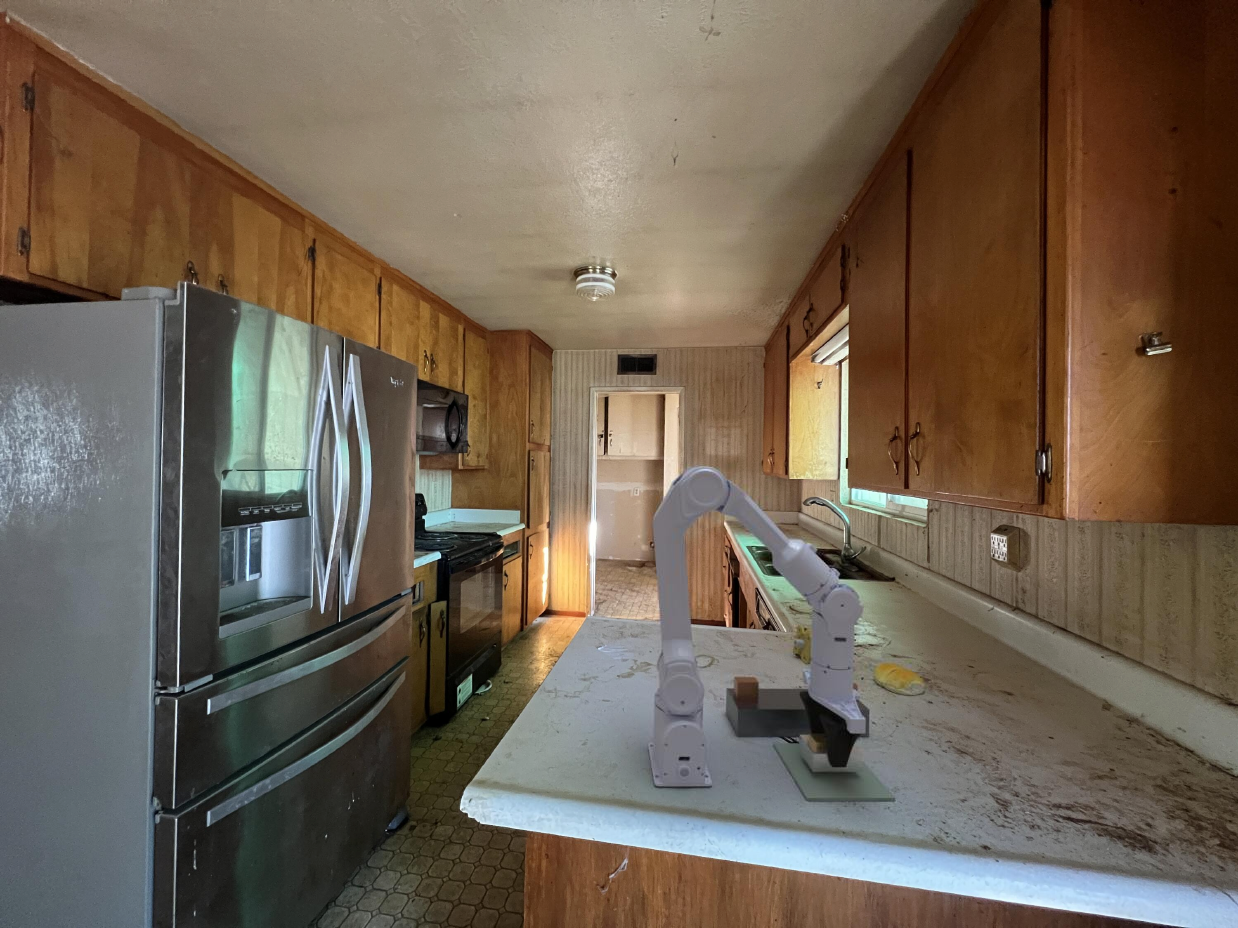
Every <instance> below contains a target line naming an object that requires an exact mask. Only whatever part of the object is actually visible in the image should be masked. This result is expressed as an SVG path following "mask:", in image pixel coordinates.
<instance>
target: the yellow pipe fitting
mask: <svg viewBox="0 0 1238 928" xmlns="http://www.w3.org/2000/svg"><path fill="white" fill-rule="evenodd" d="M792 648H793V649H792V651H793V654H794V655H800V658H801V661H802V662H803V664H805V665H808V664H809V663H810V660H811V627H809V628H806V629H805V628H804V626H803V625H801V624H797V629H796V632H795V638H794V640H793V647H792Z"/></svg>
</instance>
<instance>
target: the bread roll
mask: <svg viewBox="0 0 1238 928" xmlns="http://www.w3.org/2000/svg"><path fill="white" fill-rule="evenodd" d="M873 680H874V682H875V683H876V684H877V685H879V686H881V687H883V688H885V690H887V691H889V692H892V693H894V694H899V695H903V696H917V695H921V694H922V693H924V691H925V682H924V681H923V679H922V678H921V677H920V676H919V675H918V674H917V673H915V672H914V671H913V670H910V669H907V668H904V667H903V666H901V665H900V664H896V663H892V662H890V663H889V662H885V663H881V664H879V665H877V666H876V667H875V669H874V671H873Z"/></svg>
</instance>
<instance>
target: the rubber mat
mask: <svg viewBox="0 0 1238 928" xmlns="http://www.w3.org/2000/svg"><path fill="white" fill-rule="evenodd" d="M772 746H773V748H774V750H775V752H776V753H777V754H778V757H779V758H780V759H781V761H782V763H783V764H784V767H785V768H786V770H787V771H788V773H789V774H790V776H791V777H792V779H793V781H794V782H795V784H796V786H797V787H798V790H799V791H800V792H801V794H802V795H803V798H804V799H805V801H806V802H895V801H896V797H895V796H894V795H893V793H892V792H891V791H890V790H889V789H888V788H887V787H886V786H885V784H883V782H882V781H881V780H880V779H879V777H878V776H877V775H876V774H875V773H874V772H873V770H871V768H869V766H868V765H867V764H866V763H865V761H864V760H862V772H813V771H812V769H811V768H810V766H809V765H808V763H807V762H806V760H805V759H804V758H803V756H802V755H801V753H800V752H799V743H789V742H788V743H784V742H783V743H778V742H777V743H776V742H774V743H773V745H772Z"/></svg>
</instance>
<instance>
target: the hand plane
mask: <svg viewBox="0 0 1238 928" xmlns="http://www.w3.org/2000/svg"><path fill="white" fill-rule="evenodd" d="M759 684H760V682H759V681H758V679H757V678H756V677H755V676H734V677H733V688H730V687H729V688H728V687H726V691H725V693H726V695H725V696H726V697H725V700H726V701H725V715H726V717H727V718H728V721H729V723H730V725H731V727H732V729H733V730H734V733H735V735H736V737H740V738H741V737H748V738H749V737H751V738H753V737H754V738H757V737H758V738H759V737H760V738H761V737H763V738H764V737H767V738H768V737H770V738H771V737H780V738H781V737H782V738H785V737H788V738H796V737H797V738H800V735H809V733H811V729H810V724H809V719H808V716H807V712H806V709H805V706H804V704H803V702H802V699H801V697H800V692H802V691H808V688H759V687H760V685H759ZM853 689H854V690H856V691H857V692H858V689H859V687H858V684H856V683H855V682H853ZM858 693H859V692H858ZM856 702H857V705H858V708H859V710H860V713H861V714H862V716H863V717H864V718H865V719H866V727H865V733H861V735H860V736H859V737H858V738H869V737H870V710H871V709H869V708H868V706H866V705H865V704H864V703H863V702H862V701H861V700H860V699H859V700H856Z"/></svg>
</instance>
